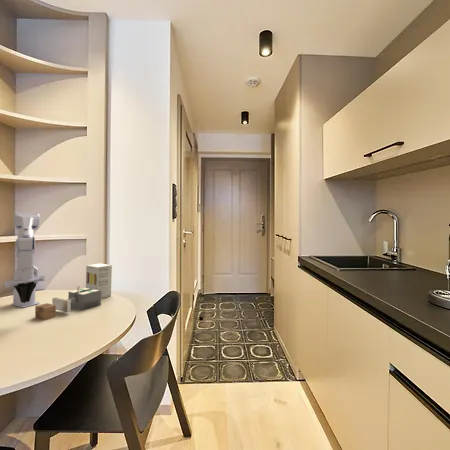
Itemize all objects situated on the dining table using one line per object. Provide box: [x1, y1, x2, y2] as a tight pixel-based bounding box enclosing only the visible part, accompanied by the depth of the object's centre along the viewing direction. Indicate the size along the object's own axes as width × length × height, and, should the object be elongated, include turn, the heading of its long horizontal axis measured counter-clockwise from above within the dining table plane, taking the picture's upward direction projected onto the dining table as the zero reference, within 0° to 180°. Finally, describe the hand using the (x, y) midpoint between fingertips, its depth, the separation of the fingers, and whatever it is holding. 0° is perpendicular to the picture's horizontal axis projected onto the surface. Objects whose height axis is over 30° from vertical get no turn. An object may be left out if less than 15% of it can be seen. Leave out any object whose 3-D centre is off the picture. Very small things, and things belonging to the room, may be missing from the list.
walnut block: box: [34, 302, 57, 321], centre depth 133 cm, size 6×5×5 cm
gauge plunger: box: [51, 285, 81, 313], centre depth 143 cm, size 11×10×9 cm
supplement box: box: [85, 262, 113, 299], centre depth 167 cm, size 10×9×17 cm
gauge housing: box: [67, 287, 102, 311], centre depth 150 cm, size 10×10×7 cm
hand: (25, 301), depth 125 cm, fingers closed
